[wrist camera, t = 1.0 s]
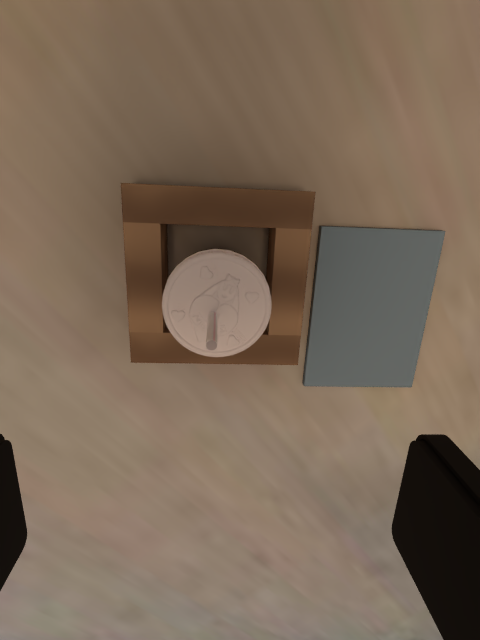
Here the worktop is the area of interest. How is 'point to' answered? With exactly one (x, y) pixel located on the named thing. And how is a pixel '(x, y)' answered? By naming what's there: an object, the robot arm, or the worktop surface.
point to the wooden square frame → (215, 210)
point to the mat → (369, 305)
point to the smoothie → (216, 303)
